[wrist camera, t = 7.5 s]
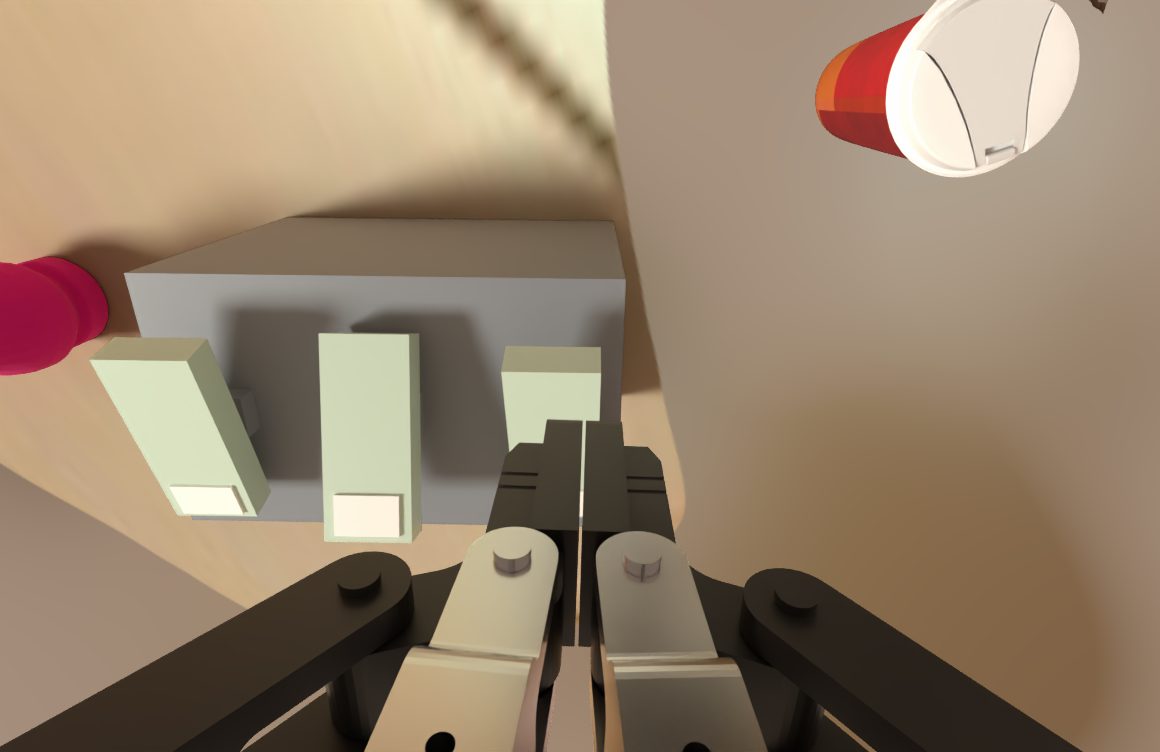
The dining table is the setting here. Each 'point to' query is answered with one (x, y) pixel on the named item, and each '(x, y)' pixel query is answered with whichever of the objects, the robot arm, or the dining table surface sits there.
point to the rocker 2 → (370, 436)
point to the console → (390, 305)
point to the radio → (1099, 4)
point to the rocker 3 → (550, 391)
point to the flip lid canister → (955, 84)
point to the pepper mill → (46, 313)
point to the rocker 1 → (184, 423)
